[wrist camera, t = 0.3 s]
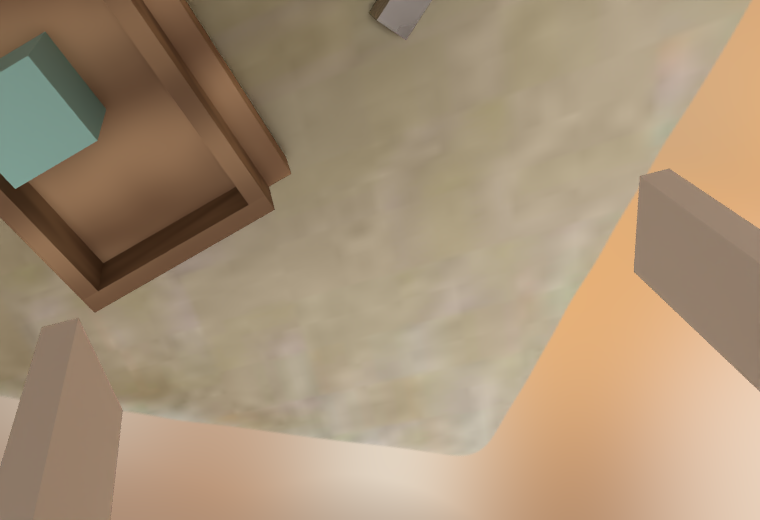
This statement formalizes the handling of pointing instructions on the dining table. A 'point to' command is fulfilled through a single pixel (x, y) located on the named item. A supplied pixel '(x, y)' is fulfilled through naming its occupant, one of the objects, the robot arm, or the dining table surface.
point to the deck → (140, 147)
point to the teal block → (43, 111)
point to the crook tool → (399, 14)
